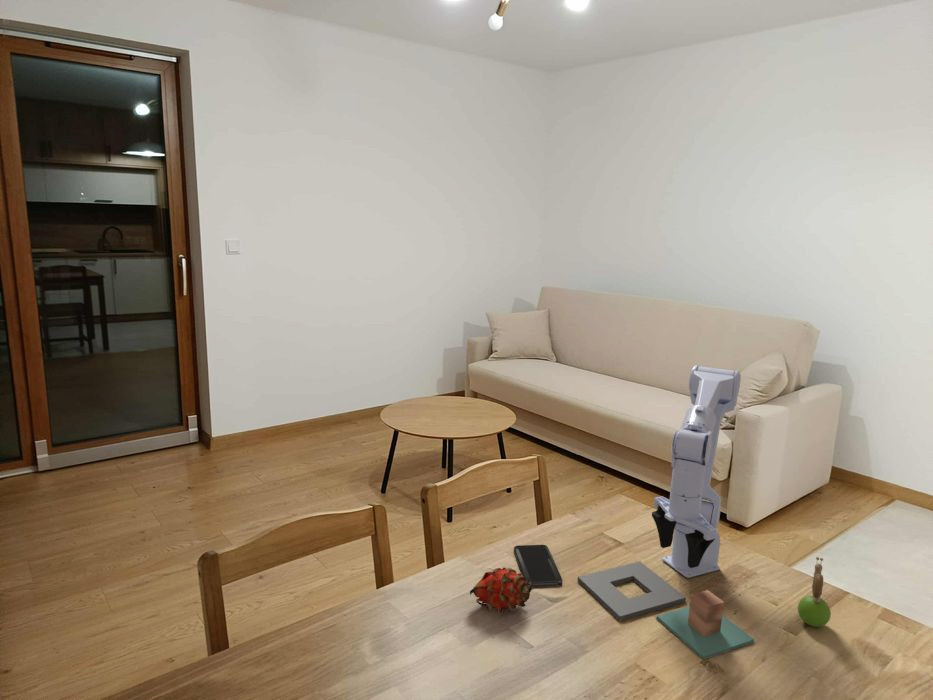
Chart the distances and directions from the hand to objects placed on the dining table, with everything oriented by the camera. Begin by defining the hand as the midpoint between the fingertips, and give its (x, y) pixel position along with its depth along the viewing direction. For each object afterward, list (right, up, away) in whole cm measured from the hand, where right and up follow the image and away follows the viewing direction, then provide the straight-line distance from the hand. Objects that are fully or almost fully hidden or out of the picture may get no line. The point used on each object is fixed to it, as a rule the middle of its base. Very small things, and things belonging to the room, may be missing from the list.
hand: (679, 556), depth 122 cm
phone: (-26, -7, +13) cm, 30 cm away
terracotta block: (+2, -11, -6) cm, 13 cm away
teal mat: (+2, -12, -6) cm, 13 cm away
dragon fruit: (-35, -10, -1) cm, 36 cm away
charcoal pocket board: (-8, -9, +5) cm, 13 cm away
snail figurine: (+24, -12, -3) cm, 27 cm away
